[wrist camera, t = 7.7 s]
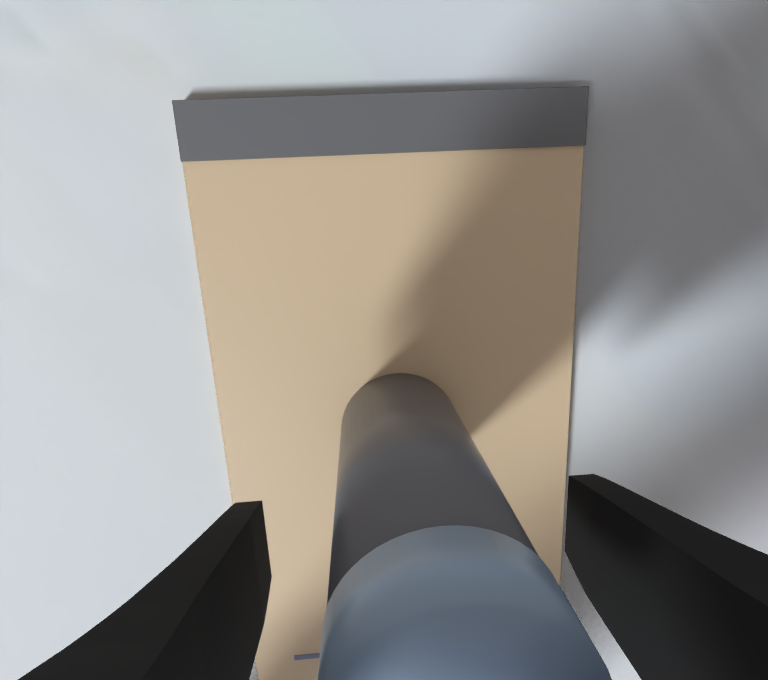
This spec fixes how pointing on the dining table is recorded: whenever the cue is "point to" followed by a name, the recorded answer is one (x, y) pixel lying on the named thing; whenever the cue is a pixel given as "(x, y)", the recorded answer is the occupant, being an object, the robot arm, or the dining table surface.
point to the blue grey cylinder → (435, 556)
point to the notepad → (383, 299)
